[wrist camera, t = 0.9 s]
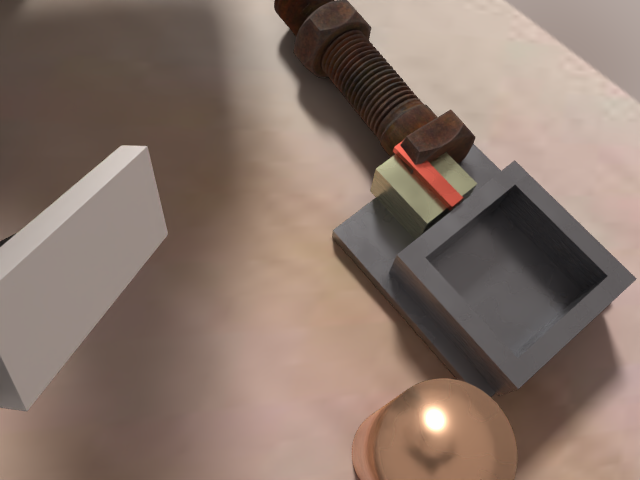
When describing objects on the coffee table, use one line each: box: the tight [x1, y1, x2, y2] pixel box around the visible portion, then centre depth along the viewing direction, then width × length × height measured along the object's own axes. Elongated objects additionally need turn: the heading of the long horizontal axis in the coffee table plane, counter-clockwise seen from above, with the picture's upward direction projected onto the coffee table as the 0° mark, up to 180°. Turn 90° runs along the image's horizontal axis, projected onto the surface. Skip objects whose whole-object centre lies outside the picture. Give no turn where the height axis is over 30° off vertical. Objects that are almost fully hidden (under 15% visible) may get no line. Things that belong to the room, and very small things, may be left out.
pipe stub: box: [352, 378, 518, 480], centre depth 25 cm, size 4×4×12 cm
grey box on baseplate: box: [332, 141, 636, 397], centre depth 32 cm, size 13×10×4 cm
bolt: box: [274, 0, 475, 174], centre depth 36 cm, size 6×5×15 cm
